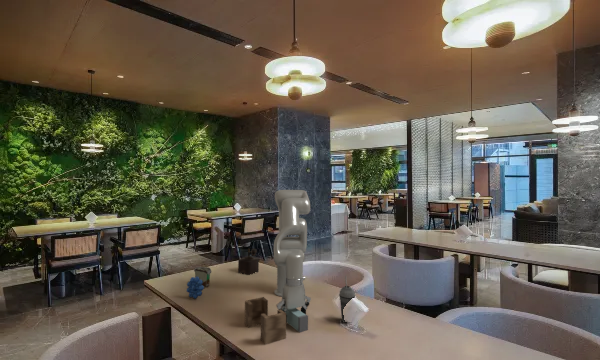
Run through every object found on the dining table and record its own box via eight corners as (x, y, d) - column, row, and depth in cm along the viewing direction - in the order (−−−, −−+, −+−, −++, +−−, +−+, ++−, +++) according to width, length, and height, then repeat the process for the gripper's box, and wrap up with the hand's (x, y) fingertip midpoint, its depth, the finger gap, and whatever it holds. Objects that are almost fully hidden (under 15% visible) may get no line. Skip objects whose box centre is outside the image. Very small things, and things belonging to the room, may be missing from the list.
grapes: (208, 297, 169) (209, 275, 170) (199, 302, 163) (200, 278, 164) (193, 294, 175) (193, 272, 175) (183, 298, 169) (183, 275, 169)
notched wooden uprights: (263, 318, 143) (263, 297, 144) (285, 338, 125) (286, 313, 126) (244, 323, 139) (244, 300, 139) (265, 344, 121) (265, 318, 121)
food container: (215, 285, 191) (215, 268, 191) (207, 288, 185) (208, 271, 185) (202, 281, 197) (202, 265, 197) (194, 284, 192) (194, 267, 192)
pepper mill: (236, 273, 217) (237, 247, 217) (247, 269, 226) (248, 244, 226) (253, 276, 208) (254, 249, 208) (264, 272, 217) (264, 246, 218)
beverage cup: (345, 325, 137) (345, 280, 137) (335, 319, 143) (336, 275, 144) (358, 322, 140) (358, 277, 141) (348, 316, 147) (349, 273, 147)
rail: (288, 316, 147) (288, 303, 147) (307, 330, 133) (308, 315, 133) (281, 318, 144) (281, 304, 144) (299, 332, 131) (299, 317, 131)
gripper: (305, 276, 147) (305, 313, 146) (272, 282, 137) (272, 321, 137) (315, 280, 140) (314, 319, 140) (281, 287, 131) (280, 328, 131)
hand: (294, 320), depth 139 cm, fingers open, 9 cm apart
